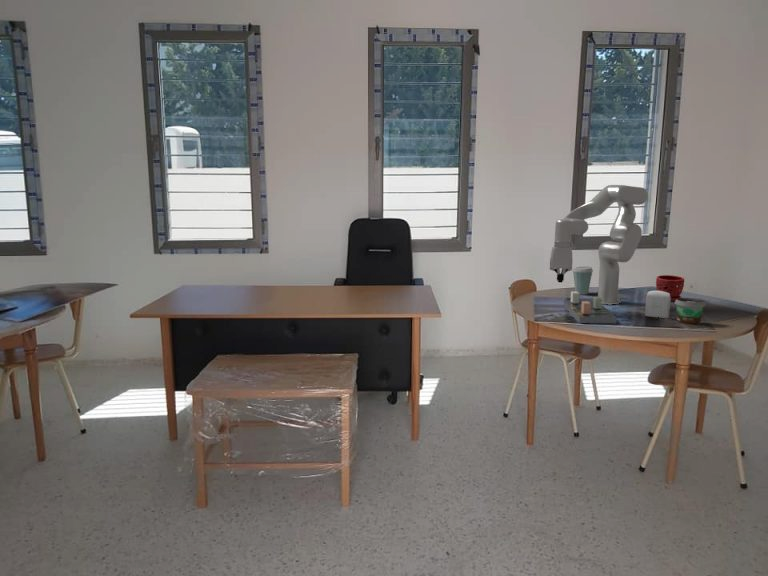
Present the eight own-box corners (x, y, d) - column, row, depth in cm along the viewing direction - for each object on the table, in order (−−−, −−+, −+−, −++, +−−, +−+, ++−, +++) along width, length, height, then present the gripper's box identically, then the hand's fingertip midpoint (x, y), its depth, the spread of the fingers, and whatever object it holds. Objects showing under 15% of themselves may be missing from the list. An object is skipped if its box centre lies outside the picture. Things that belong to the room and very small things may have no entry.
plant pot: (649, 298, 303) (650, 276, 300) (666, 296, 308) (667, 274, 306) (671, 303, 291) (673, 280, 289) (688, 300, 297) (690, 277, 294)
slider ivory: (576, 301, 285) (577, 291, 284) (578, 303, 280) (579, 293, 279) (570, 301, 285) (571, 291, 284) (572, 303, 281) (573, 293, 280)
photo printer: (669, 317, 264) (671, 291, 262) (668, 319, 261) (670, 292, 258) (645, 314, 270) (647, 289, 268) (644, 316, 267) (645, 290, 264)
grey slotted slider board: (596, 306, 288) (596, 300, 288) (616, 323, 255) (616, 317, 254) (563, 306, 290) (563, 300, 289) (579, 323, 257) (579, 316, 256)
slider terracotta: (587, 311, 263) (588, 301, 262) (590, 314, 259) (590, 303, 258) (581, 311, 264) (581, 301, 263) (583, 314, 259) (584, 303, 258)
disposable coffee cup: (575, 295, 313) (576, 268, 310) (568, 291, 324) (569, 265, 321) (594, 295, 313) (596, 268, 310) (587, 291, 324) (588, 265, 321)
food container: (674, 323, 253) (676, 301, 251) (673, 320, 259) (674, 298, 257) (706, 325, 249) (708, 303, 247) (703, 322, 254) (705, 300, 252)
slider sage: (599, 306, 273) (599, 296, 272) (601, 308, 269) (602, 298, 268) (592, 306, 274) (593, 296, 273) (595, 308, 269) (595, 298, 268)
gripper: (576, 244, 281) (573, 281, 284) (545, 243, 282) (543, 280, 286) (579, 246, 273) (577, 283, 277) (548, 245, 275) (545, 283, 278)
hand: (560, 282), depth 281 cm, fingers closed
